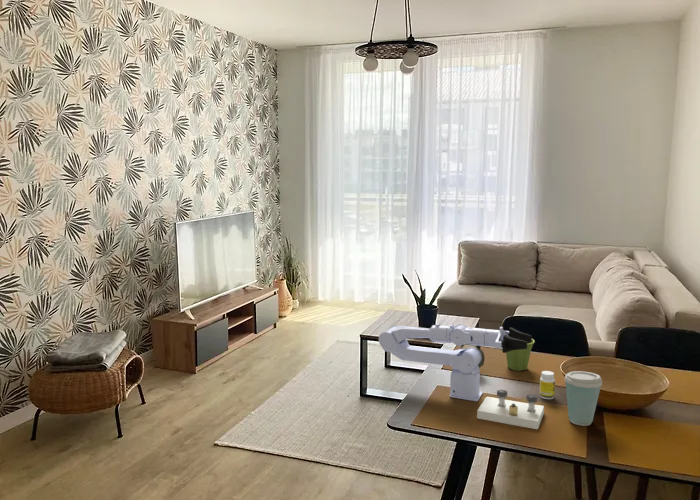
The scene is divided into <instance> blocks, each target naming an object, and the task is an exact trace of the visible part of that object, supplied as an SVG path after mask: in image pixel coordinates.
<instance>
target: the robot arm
mask: <svg viewBox="0 0 700 500" xmlns="http://www.w3.org/2000/svg"><path fill="white" fill-rule="evenodd" d="M407 339H429V340H430V341H431V342H432V343H442V344H443V343H444V344H451V343H452V344H454V345H456V347H461V345H466V344H470V345H475V346H481V347H488V348H494V349H500V350H502V354H503V353H504V354H506V352H509V351H512V350H520V349H527V343H530V342H532V339H533V335H531V334H529V333H525V332H521V331H519V330H518V329H516V328H514V327H509V328H508V330H504V327H503V326H499V329H492V328H491V329H489V328H482V327H481V328H480V327H468V326H466V325H464V324H460V323H459V324H457V325H456V326H454V324H450V325H441V323H435V324H433V325H431V327H430V328H426V327H417V326H406V325H392V326H391V327H389V329H386V330H385V331H382V332H381V333H380V334H379V336H378V343H379V345H380V347H381V348H382V350H383V351H384V352H387V353H390V354H391V355H393V356H394V357H396V358H398V359H399V360H402V361H407V362H414V363H422V364H423V363H424V364H432V365H438V366H439V365H441V366H449V367H451V368H452V370H451V372H450V382H449V383H450V384H449V385H450V386H449V397H450V398H455V399H461V400H465V401H472V402H478V401H479V400H480V398H481V397H482V395H483V393H484V392H483V391H481V390H480V387H481V386H480V382H481V380H480V377H481V373H480V372H481V370H480V368H479V366H478V364H479V363H480V362H481V359H482V356H481V353H480V352H479V350H477V349H476V348H467V349H459V348H458V349H454V350H451V349H443V348H442V349H441V348H433V347H431V348H430V347H421V346H412V345H410V344H409V341H408V340H407Z"/></svg>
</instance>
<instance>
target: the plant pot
mask: <svg viewBox="0 0 700 500" xmlns="http://www.w3.org/2000/svg"><path fill="white" fill-rule="evenodd" d="M535 343H536V342H535V339H533V338H532V342H530V343H527V349H520V350H512V351H509V352H506V353H505V356H506V364H507V368H508V369H510V370H512V371H517V372H518V371H519V372H521V371H526V370H527V369H528V366H529V362H530V357H531V351H532V348H533V347H534V344H535Z"/></svg>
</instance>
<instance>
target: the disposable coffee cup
mask: <svg viewBox="0 0 700 500" xmlns="http://www.w3.org/2000/svg"><path fill="white" fill-rule="evenodd" d="M564 382H565V390H566V391H565V393H566V402H567V403H566V404H567V413H568V419H569V422H570V423H572V424H574V425H576V426H583V427H586V426H587V427H588V426H590V425H592V423H593V422H594V415H595V412H596V408H597V404H598V399H599V395H600V391H601V387H602V386H603V379H602V378H601V375H599V374H597V373H595V372H589V371H581V370H578V371H577V370H576V371H575V370H574V371H569V372H568V373H566V374H565V376H564Z"/></svg>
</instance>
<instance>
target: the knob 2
mask: <svg viewBox="0 0 700 500" xmlns="http://www.w3.org/2000/svg"><path fill="white" fill-rule="evenodd" d="M526 401H527V403H529V407H528V410H529V411H534V410H535V405H536V404H535V403H537V402H538V396H537V395H536V394H527V395H526Z"/></svg>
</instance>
